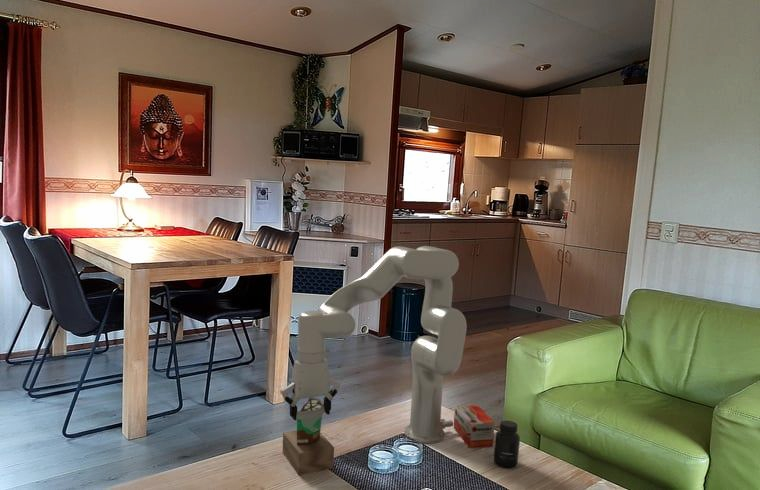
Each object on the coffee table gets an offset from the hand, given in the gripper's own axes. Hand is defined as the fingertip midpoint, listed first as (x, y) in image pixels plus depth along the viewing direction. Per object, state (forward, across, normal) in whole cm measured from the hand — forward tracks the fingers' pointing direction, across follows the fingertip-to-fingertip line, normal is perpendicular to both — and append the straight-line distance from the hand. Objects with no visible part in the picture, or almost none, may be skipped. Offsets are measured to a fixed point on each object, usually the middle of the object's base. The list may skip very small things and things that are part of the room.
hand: (310, 415), depth 160 cm
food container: (+7, -1, 0) cm, 7 cm away
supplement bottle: (+14, -51, +23) cm, 58 cm away
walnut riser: (+13, +1, 0) cm, 13 cm away
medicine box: (+14, -53, +5) cm, 55 cm away
